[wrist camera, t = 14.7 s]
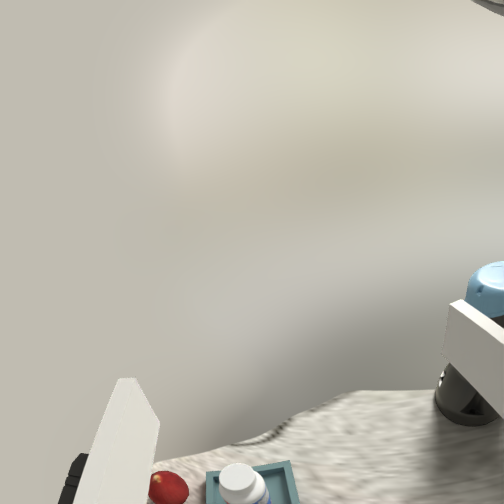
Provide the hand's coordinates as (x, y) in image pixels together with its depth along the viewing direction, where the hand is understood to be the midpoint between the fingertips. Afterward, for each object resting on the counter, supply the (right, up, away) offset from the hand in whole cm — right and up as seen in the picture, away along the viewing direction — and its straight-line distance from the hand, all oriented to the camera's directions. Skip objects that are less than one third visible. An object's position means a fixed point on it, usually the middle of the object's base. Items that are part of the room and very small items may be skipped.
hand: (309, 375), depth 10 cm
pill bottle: (-2, -29, +17) cm, 34 cm away
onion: (-13, -31, +19) cm, 38 cm away
